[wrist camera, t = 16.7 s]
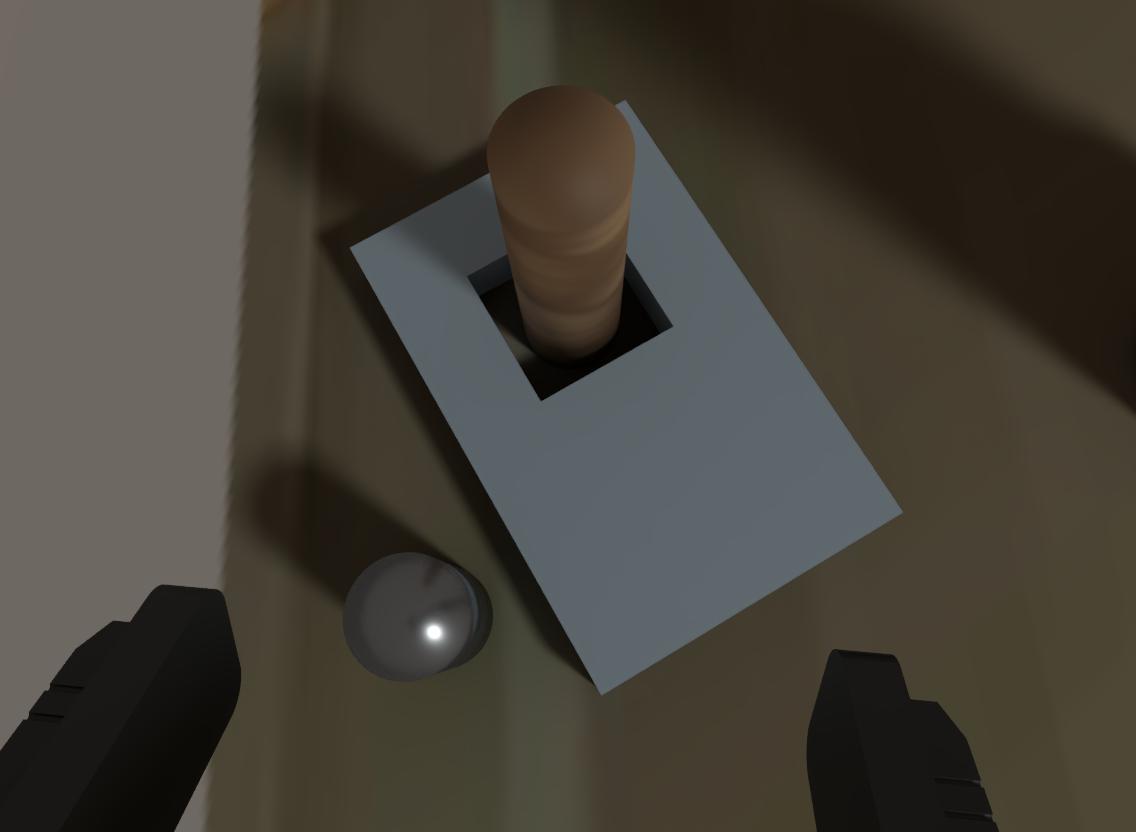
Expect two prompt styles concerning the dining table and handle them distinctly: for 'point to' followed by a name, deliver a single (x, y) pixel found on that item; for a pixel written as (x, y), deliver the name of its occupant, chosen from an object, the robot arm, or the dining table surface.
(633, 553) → the hole board
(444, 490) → the dining table surface
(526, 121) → the long pin
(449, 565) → the short pin
